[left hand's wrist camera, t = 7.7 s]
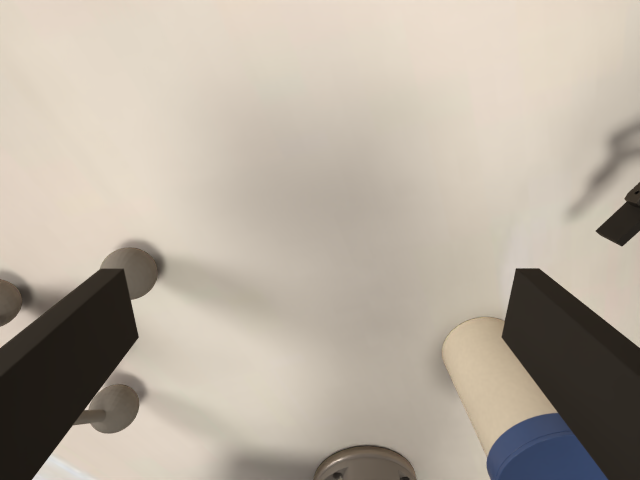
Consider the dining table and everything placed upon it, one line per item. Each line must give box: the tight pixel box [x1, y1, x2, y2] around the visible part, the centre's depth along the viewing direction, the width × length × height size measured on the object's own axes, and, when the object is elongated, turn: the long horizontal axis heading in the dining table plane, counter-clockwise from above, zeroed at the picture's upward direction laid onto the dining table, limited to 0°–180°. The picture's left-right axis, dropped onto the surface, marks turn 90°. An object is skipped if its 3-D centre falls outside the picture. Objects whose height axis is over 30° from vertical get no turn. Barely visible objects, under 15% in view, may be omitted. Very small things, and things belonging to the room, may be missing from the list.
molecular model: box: [0, 248, 158, 433], centre depth 30 cm, size 24×22×30 cm
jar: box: [442, 317, 558, 457], centre depth 39 cm, size 9×9×16 cm
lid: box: [487, 413, 608, 480], centre depth 32 cm, size 10×10×2 cm
